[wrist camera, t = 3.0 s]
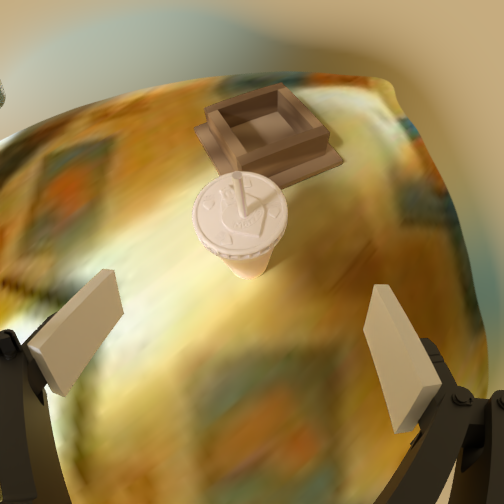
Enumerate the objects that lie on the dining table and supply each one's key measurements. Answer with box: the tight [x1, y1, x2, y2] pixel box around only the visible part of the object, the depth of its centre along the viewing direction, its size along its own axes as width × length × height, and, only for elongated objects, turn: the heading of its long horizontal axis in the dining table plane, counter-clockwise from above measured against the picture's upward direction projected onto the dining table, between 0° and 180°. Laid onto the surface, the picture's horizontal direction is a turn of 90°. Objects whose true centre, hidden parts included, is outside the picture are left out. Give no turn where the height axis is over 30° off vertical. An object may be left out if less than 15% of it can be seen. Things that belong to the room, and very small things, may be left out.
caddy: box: [194, 83, 343, 190], centre depth 31 cm, size 13×13×4 cm
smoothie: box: [192, 171, 288, 279], centre depth 22 cm, size 6×6×14 cm
